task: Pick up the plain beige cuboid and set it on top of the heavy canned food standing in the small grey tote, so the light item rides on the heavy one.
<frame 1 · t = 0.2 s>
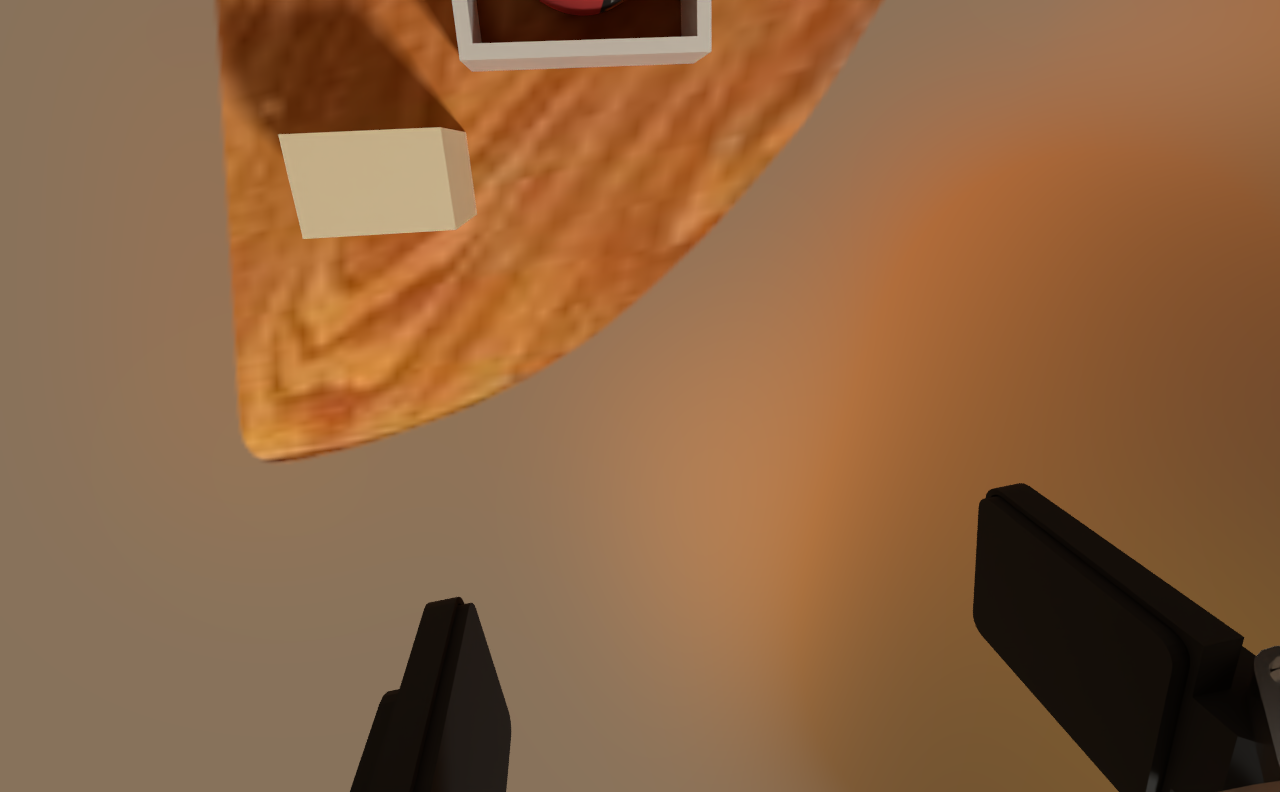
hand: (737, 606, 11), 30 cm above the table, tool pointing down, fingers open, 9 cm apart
plain beige cuboid: (410, 177, 36), on the table
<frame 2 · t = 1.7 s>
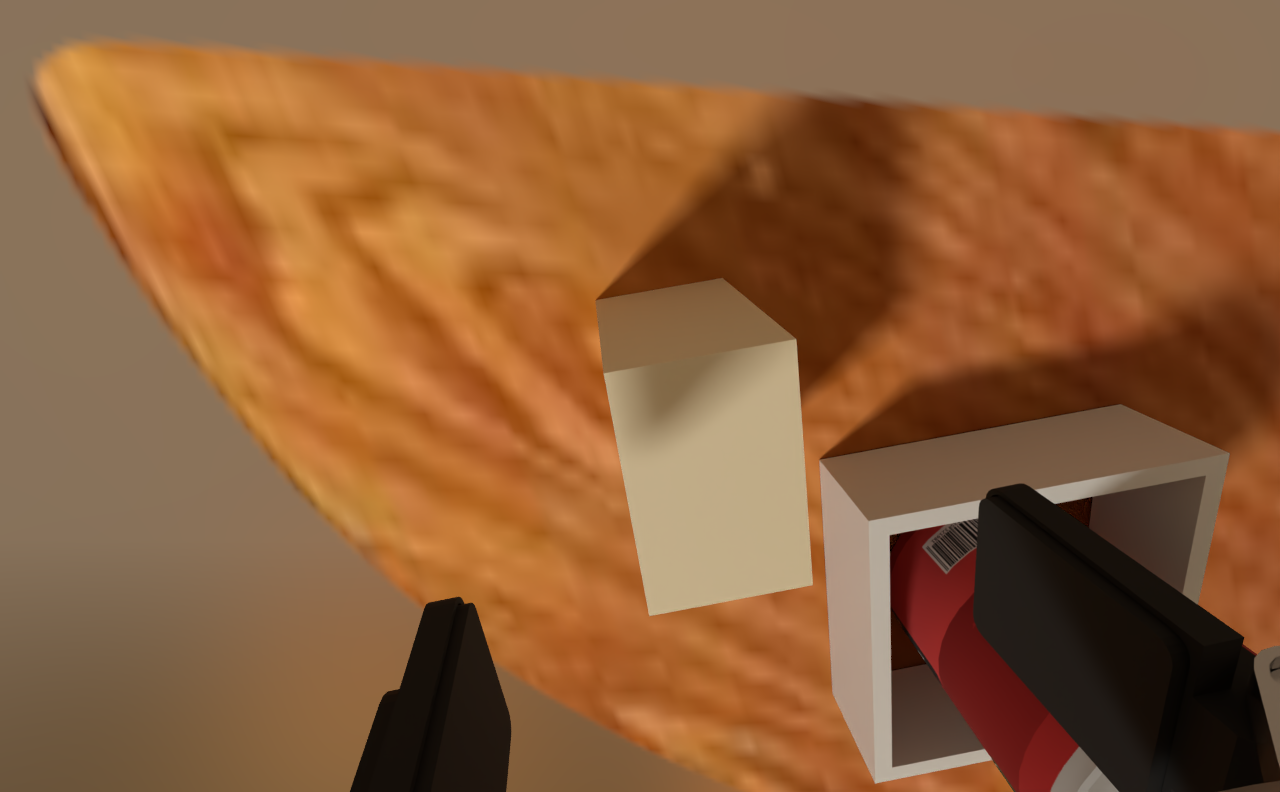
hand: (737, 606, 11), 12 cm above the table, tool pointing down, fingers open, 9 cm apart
plain beige cuboid: (672, 381, 23), on the table
canned food: (962, 556, 27), resting in tote
tote: (965, 560, 27), on the table
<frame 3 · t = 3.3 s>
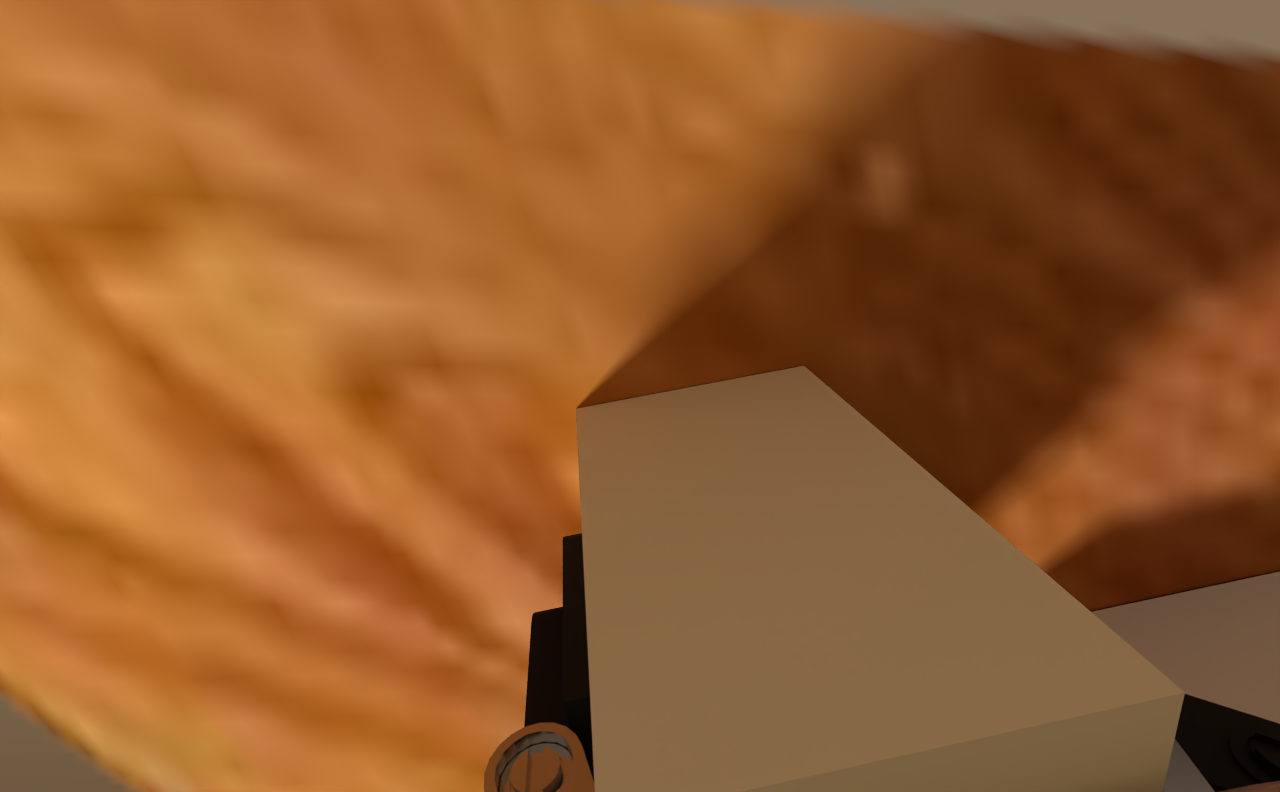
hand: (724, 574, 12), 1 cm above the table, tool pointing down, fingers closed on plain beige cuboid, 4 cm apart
plain beige cuboid: (711, 538, 13), on the table, touching gripper
tote: (1147, 766, 18), on the table
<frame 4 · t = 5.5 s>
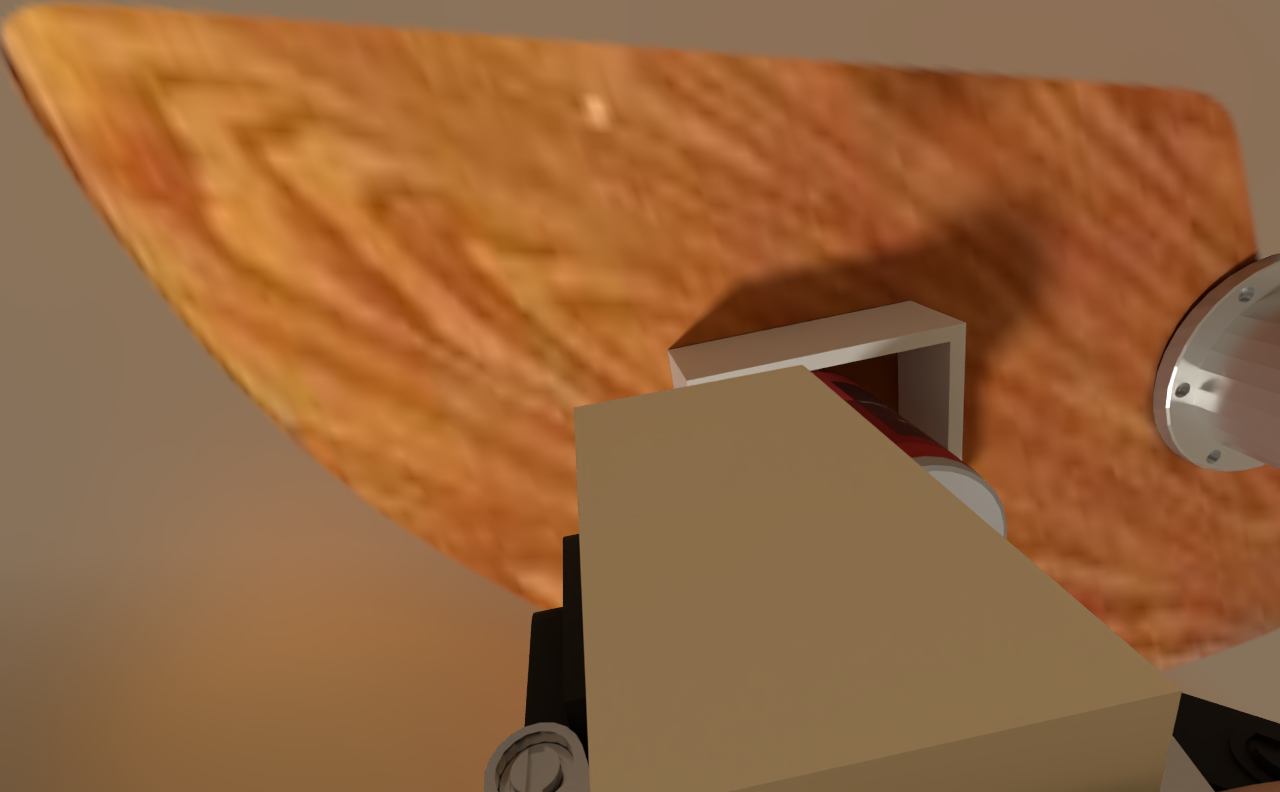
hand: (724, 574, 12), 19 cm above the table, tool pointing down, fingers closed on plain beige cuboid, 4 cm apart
plain beige cuboid: (709, 537, 13), point 18 cm above the table, touching gripper
canned food: (797, 435, 33), resting in tote
tote: (799, 436, 33), on the table
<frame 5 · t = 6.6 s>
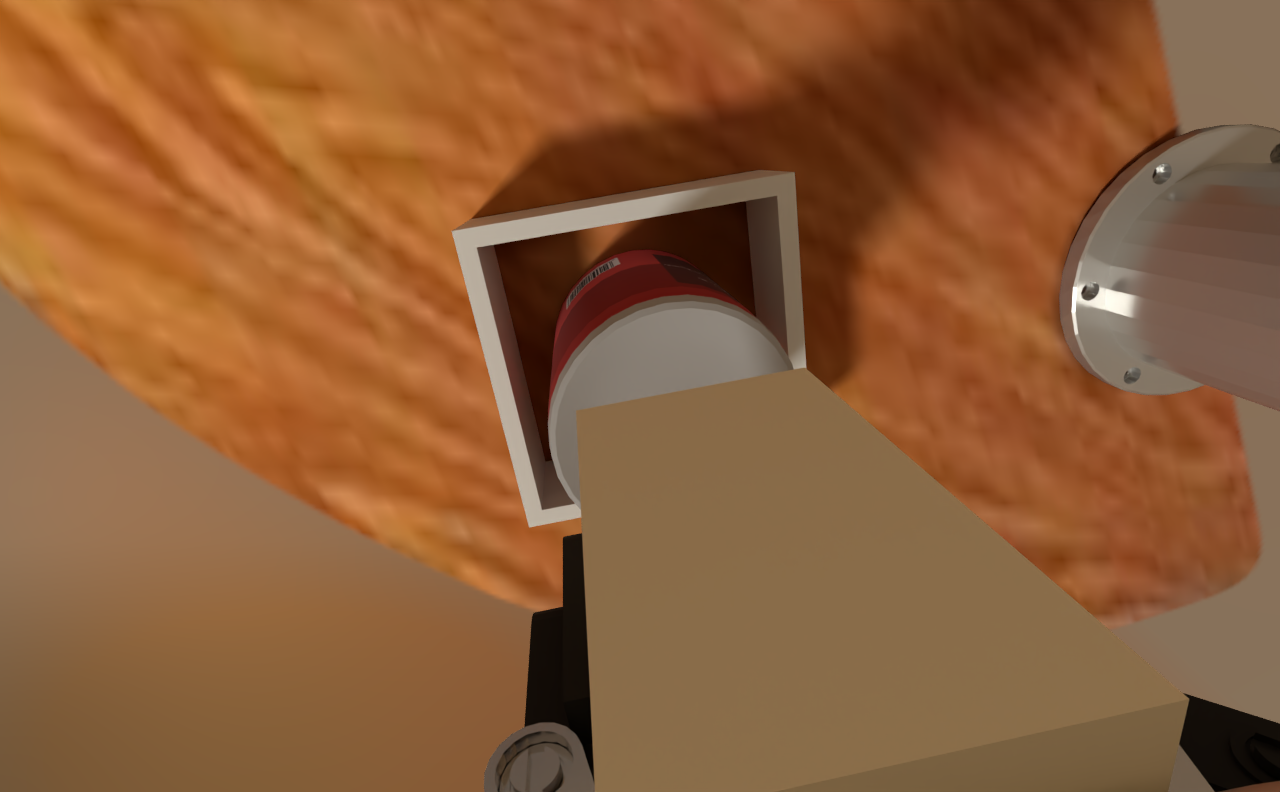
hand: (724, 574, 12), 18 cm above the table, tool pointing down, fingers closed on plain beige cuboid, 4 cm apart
plain beige cuboid: (711, 540, 13), point 17 cm above the table, touching gripper
canned food: (638, 332, 29), resting in tote
tote: (638, 334, 29), on the table
when the fingers open (14 cm above the table, at t = 7.6 s): plain beige cuboid drops 1 cm, resting on canned food.
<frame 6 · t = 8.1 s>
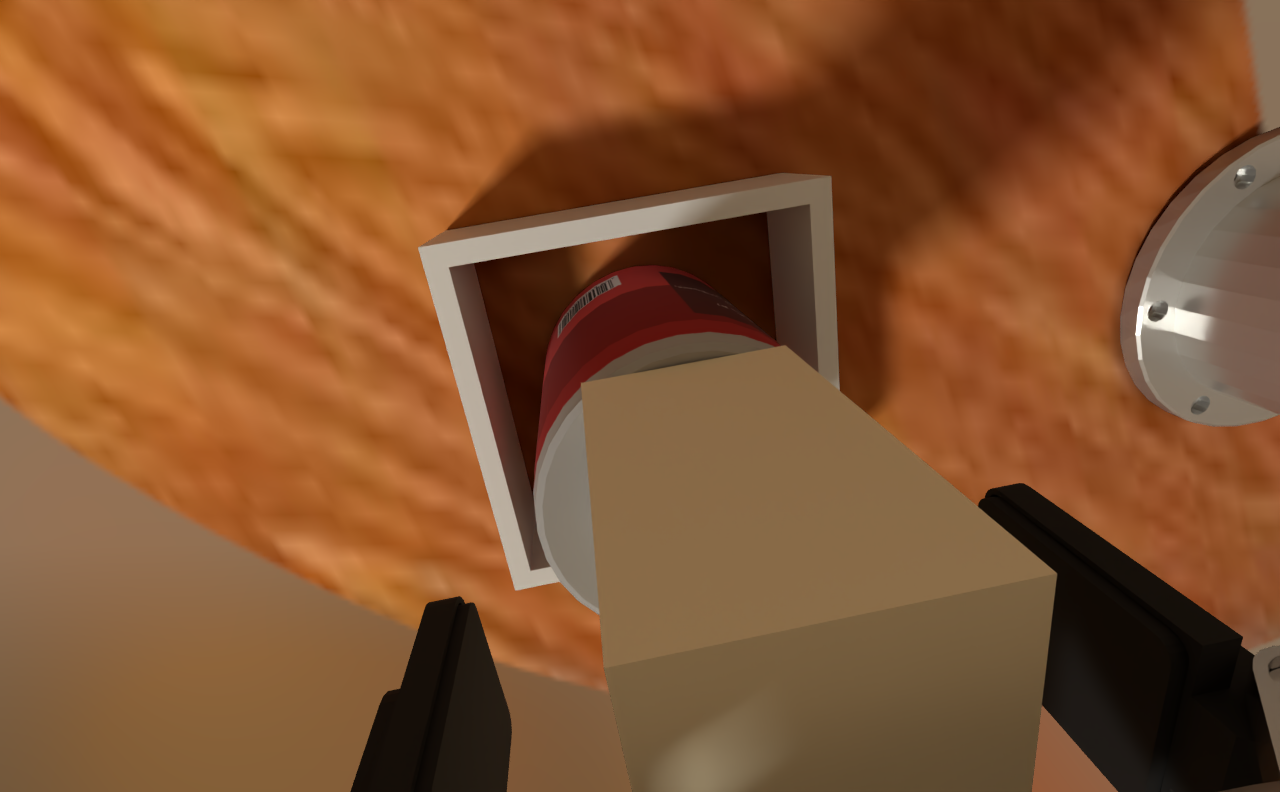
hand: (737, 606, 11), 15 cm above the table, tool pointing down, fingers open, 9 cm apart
plain beige cuboid: (702, 502, 15), point 11 cm above the table, touching canned food
canned food: (641, 359, 25), resting in tote, touching plain beige cuboid
tote: (642, 361, 25), on the table
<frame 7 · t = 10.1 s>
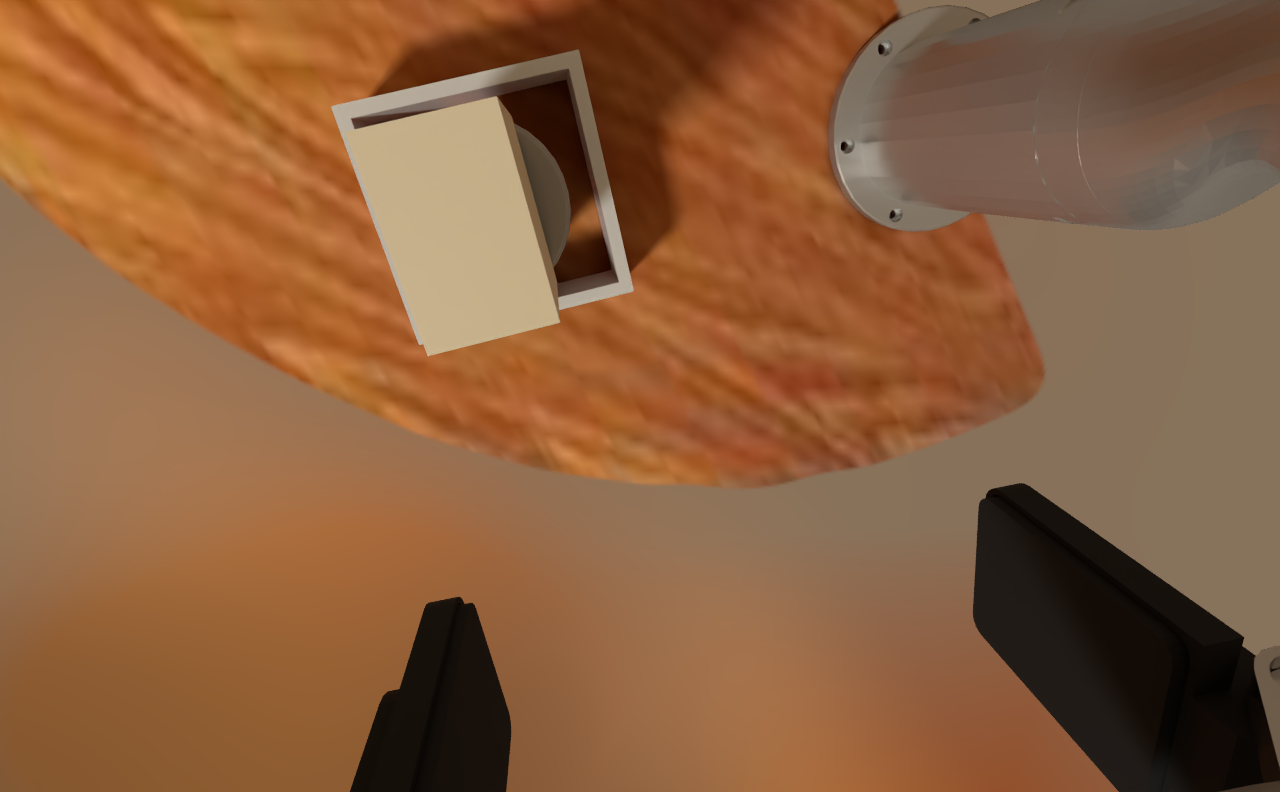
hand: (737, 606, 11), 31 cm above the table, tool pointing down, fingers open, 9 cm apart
plain beige cuboid: (484, 215, 27), point 11 cm above the table, touching canned food
canned food: (500, 201, 37), resting in tote, touching plain beige cuboid
tote: (500, 201, 37), on the table
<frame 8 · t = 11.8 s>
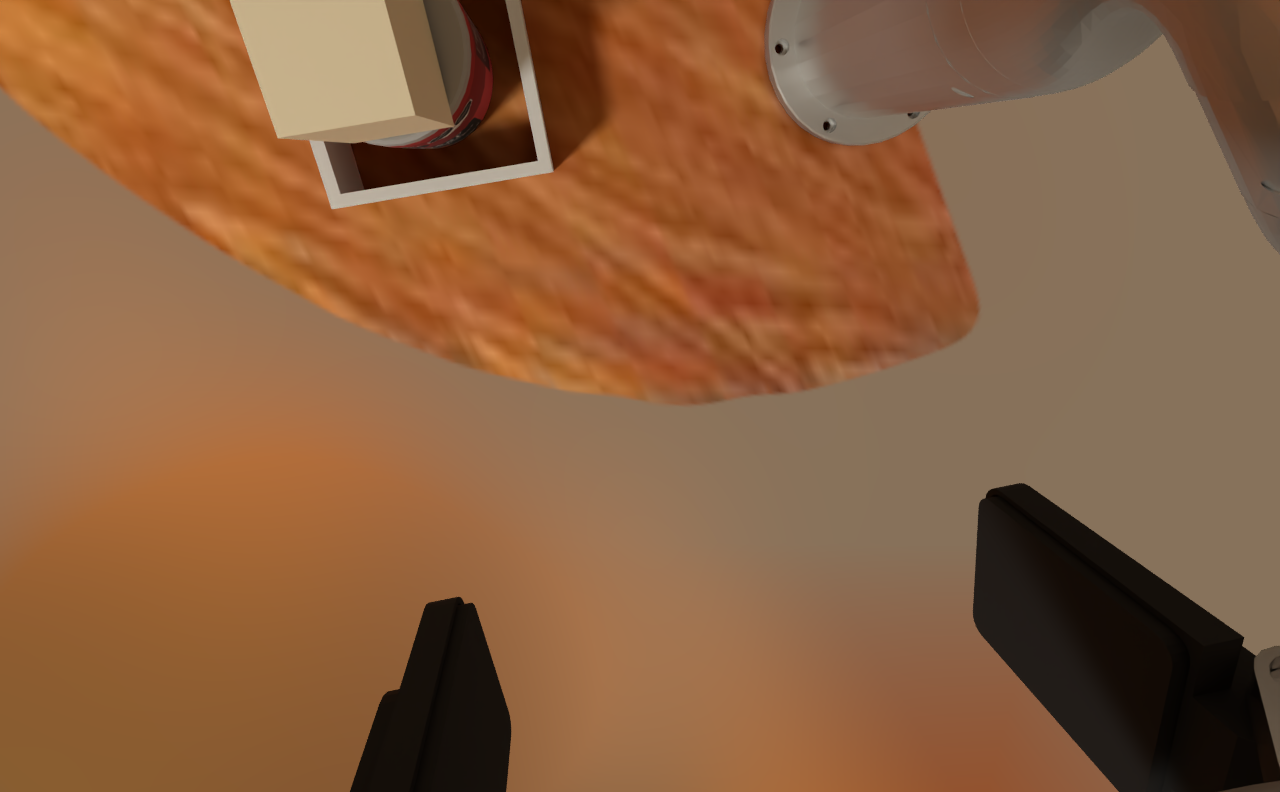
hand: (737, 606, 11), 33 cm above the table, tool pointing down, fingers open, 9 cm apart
plain beige cuboid: (379, 47, 27), point 11 cm above the table, touching canned food
canned food: (429, 77, 37), resting in tote, touching plain beige cuboid
tote: (428, 77, 37), on the table
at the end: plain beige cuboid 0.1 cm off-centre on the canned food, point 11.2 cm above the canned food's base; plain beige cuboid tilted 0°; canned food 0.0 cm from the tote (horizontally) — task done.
